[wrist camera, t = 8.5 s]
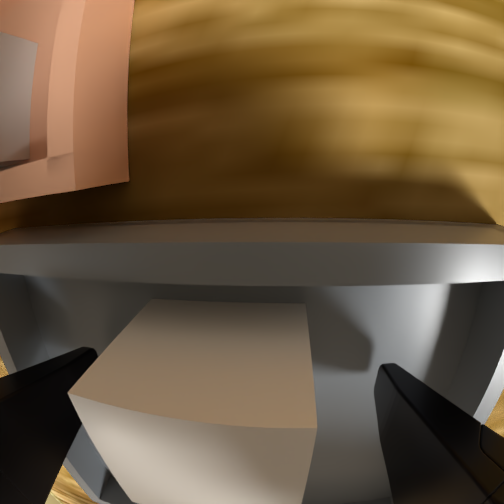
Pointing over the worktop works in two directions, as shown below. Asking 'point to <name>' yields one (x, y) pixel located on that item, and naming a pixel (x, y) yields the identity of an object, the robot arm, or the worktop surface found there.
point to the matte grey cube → (15, 97)
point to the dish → (72, 95)
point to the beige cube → (205, 403)
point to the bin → (277, 291)
